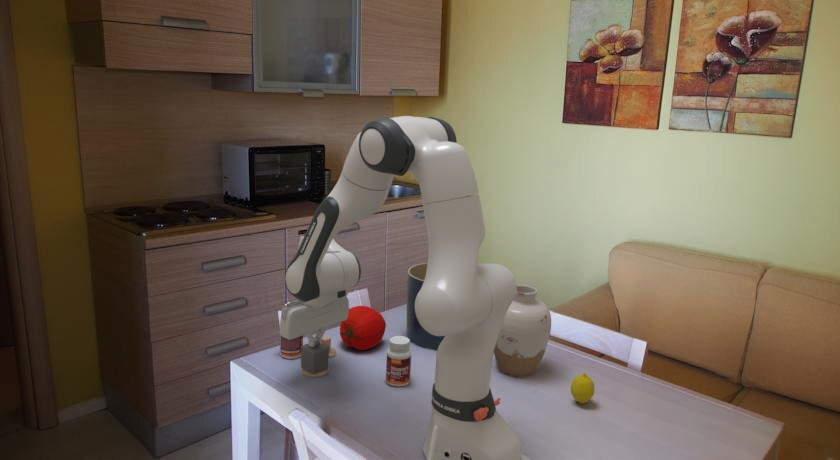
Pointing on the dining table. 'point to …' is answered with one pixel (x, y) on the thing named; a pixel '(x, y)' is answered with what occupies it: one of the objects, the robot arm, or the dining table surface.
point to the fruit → (582, 388)
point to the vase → (523, 334)
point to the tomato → (362, 328)
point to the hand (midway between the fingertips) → (315, 345)
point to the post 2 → (328, 342)
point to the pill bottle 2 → (398, 361)
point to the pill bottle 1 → (291, 347)
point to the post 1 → (318, 374)
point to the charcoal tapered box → (315, 357)
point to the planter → (413, 326)
